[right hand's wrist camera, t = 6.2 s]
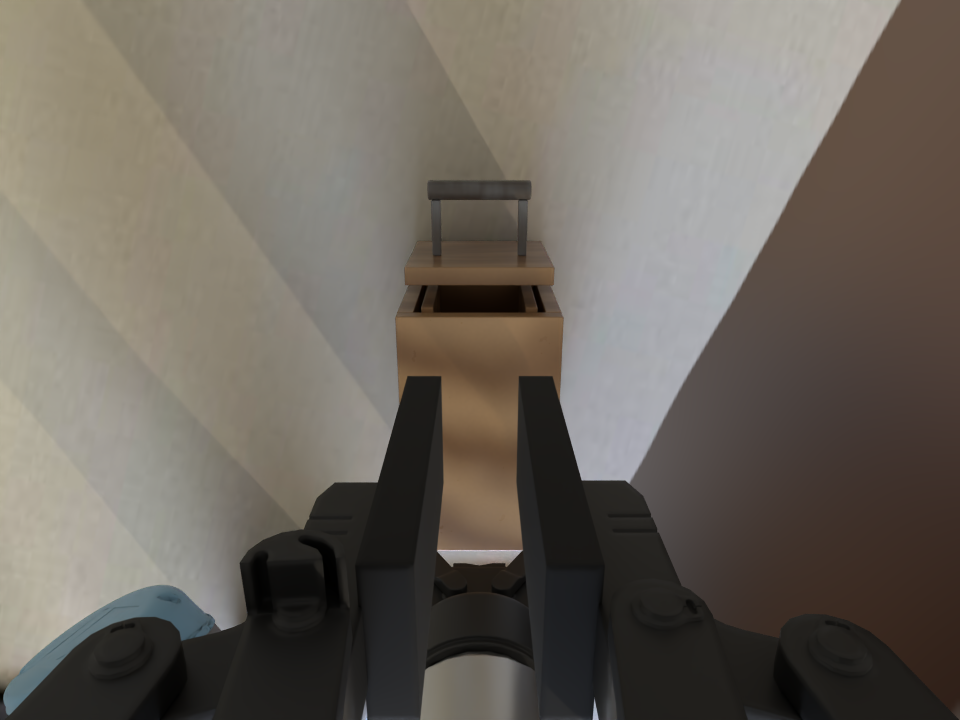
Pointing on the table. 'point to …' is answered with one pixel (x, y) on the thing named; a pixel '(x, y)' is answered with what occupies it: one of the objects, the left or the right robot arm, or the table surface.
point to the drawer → (479, 258)
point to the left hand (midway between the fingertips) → (479, 469)
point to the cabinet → (479, 406)
